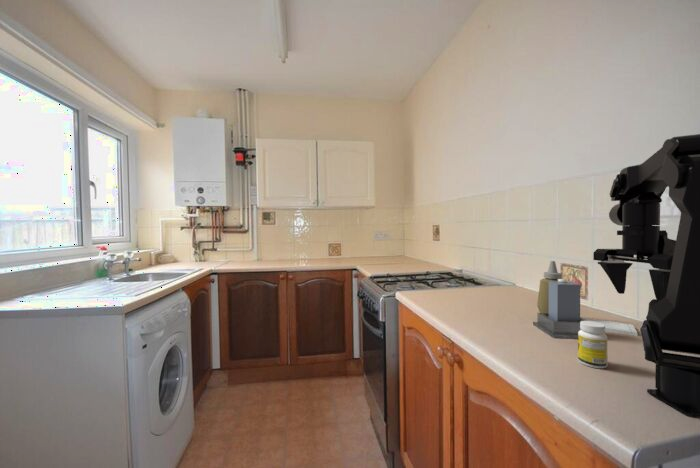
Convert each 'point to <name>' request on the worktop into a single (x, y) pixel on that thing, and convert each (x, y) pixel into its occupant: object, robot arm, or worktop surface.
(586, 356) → the supplement bottle
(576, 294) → the grey tall block
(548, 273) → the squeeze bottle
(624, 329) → the hard drive
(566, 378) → the worktop surface
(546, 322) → the pocket plate
